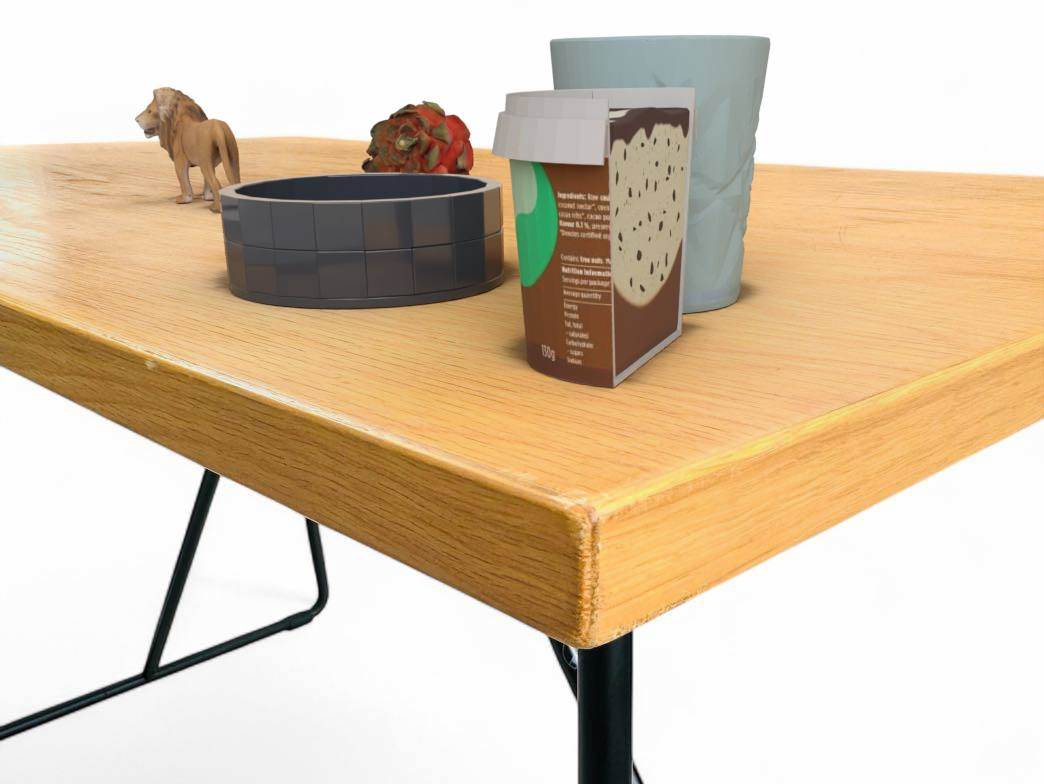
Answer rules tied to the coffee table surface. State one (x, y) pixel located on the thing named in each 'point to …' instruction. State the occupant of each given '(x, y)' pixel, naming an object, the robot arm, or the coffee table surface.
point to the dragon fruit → (420, 142)
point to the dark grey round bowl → (363, 239)
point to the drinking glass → (722, 134)
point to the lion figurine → (191, 142)
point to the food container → (599, 223)
